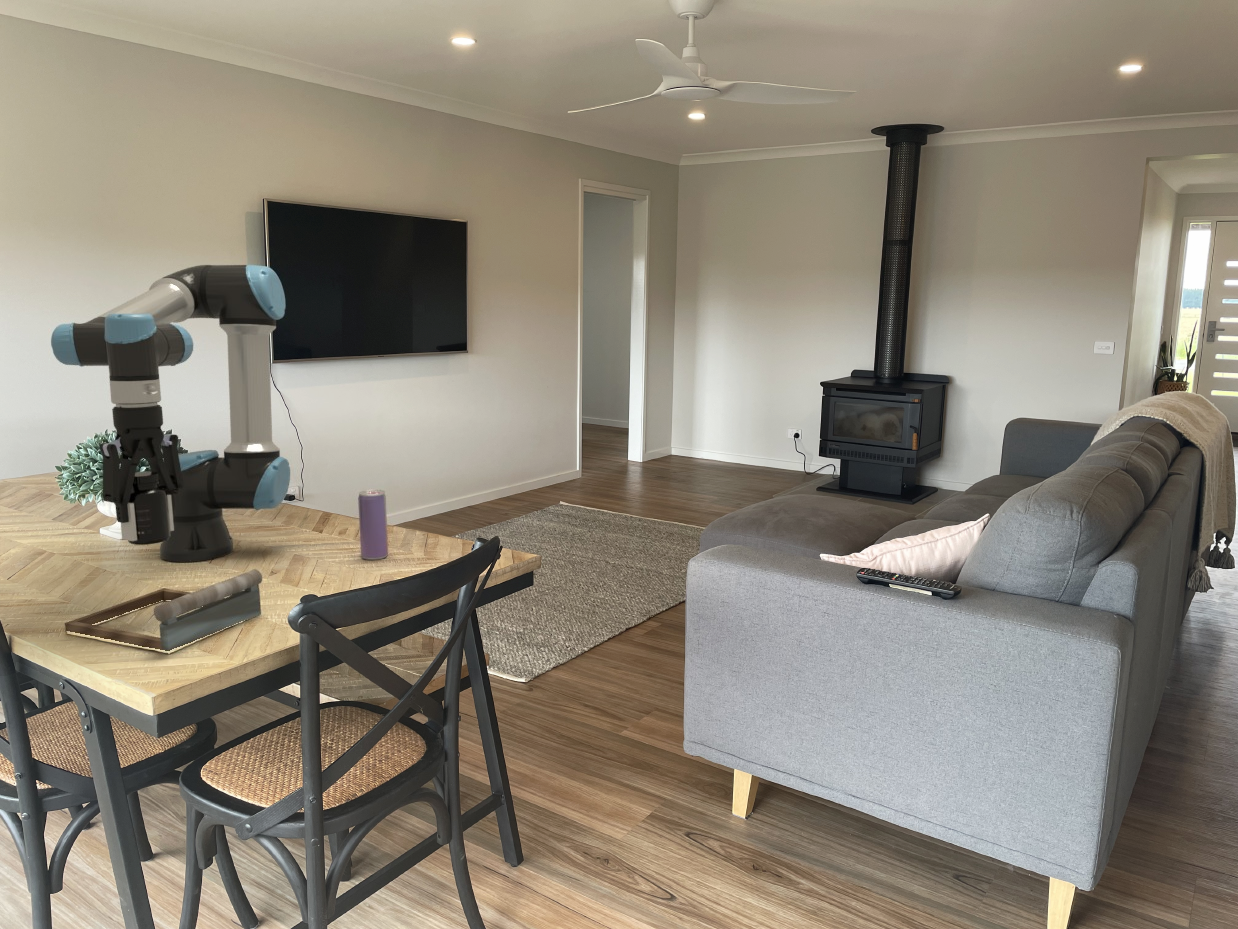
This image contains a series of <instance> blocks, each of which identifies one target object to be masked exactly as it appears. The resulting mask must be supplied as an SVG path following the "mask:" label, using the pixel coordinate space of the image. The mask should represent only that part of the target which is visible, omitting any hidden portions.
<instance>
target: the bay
mask: <svg viewBox="0 0 1238 929" xmlns="http://www.w3.org/2000/svg"><path fill="white" fill-rule="evenodd" d="M262 582H263V575H262V573H261V571H260V570H258V569H252V570H249V571H247V572H245V573H244V572H243V573H242V574H239V575H236V576H233V577H230V578H228V579H225V580H222V581H220V582H217V583H215V584H212V585H209V586H206V587H203V588H201V589H198V590H196V591H195V590H194V591H192V592H190V591H183V590H178V589H173V588H172V589H171V588H166V587H164V588H160V589H158V590H155V591H152V592H149V593H146V594H143V595H141V596H138V597H135V598H133V599H129V600H126V601H123V602H120V603H118V604H115V605H112V606H109V607H107V608H104V609H101V610H98V611H95V612H92V613H90V614H87V615H84V616H81V617H78V618H75V619H72V620H70V621H67V622H65V623H64V627H65V632H66V631H70V632H75V633H80V634H85V635H90V636H95V637H100V638H104V639H111V640H115V641H119V642H124V643H129V644H134V645H138V646H142V647H149V648H155V649H160V650H165V651H170V650H172V649H174V648H177V647H180V646H183V645H185V644H188V643H191V642H193V641H195V640H197V639H200V638H203V637H205V636H207V635H210V634H213V633H215V632H217V631H220V630H222V629H224V628H226V627H229V626H232V625H234V624H236V623H239V622H241V621H244V620H247V619H249V620H251V619H253V618H252V617H254V618H256V617H258V616H260V615H262V609H261V595H260V594H261V593H260V587H259V588H258V586H257V585H258V584H259V585H260V584H261V583H262ZM243 590H244V591H243ZM240 591H242V592H240ZM237 592H239V593H237ZM235 593H237V594H235ZM232 594H234V595H232ZM161 600H171V601H165V602H163V603H161V604H158V605H156V606H155V607H154V608H153V614H154V615H153V616H154V618H155V619H156V620H157V621H158V622H160V623H159V624H158V626H159V636H160V637H159V636H153V635H148V634H142V633H137V632H133V631H127V630H121V629H118V628H117V629H116V628H112V627H106V626H102V625H101V626H100V625H97V626H96V625H92V624H95V623H98V622H101V621H104V620H108V619H110V618H113V617H115V616H119V615H122V614H124V613H126V612H130V611H132V610H135V609H138V608H141V607H144V606H147V605H149V604H153V603H156V602H159V601H161ZM159 603H160V602H159ZM202 606H203V607H202ZM255 616H256V617H255ZM250 618H251V619H250ZM247 621H248V620H247Z"/></svg>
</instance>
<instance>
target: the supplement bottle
mask: <svg viewBox="0 0 1238 929" xmlns="http://www.w3.org/2000/svg"><path fill="white" fill-rule="evenodd" d="M159 483H160V480H159V475H158V472H152V471H138V472H137V471H136V473H135V477H134V482H133V486H132V491H131V495H130V500H129V503H134V510H135V521H136V532H137V540H136V541H128V540H127V542H128V543H129V544H130V545H131V544H132V545H135V546H147V545H148V546H149V545H156V544H159V543H160V544H161V543H162V542H163V541H166V540H168V539H169V538H170V536H171V533H170V522H169V511H168V501H167V493H166V491H165V489H163V488H162V487H160V486H158V484H159Z"/></svg>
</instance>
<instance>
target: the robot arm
mask: <svg viewBox="0 0 1238 929" xmlns="http://www.w3.org/2000/svg"><path fill="white" fill-rule="evenodd" d="M285 310H286V297H285V291H284V288H283V285H282V281H281V280H280V278H279V276H278V275H277V273H276V272H275V271H274V270H273V268H271V267H270V266H265V265H258V264H257V265H255V264H223V265H222V264H218V265H217V264H200V265H194V266H191V267H186V268H184V269H181V270H178V271H175V272H173V273H170V274H167V275H166V276H163V277H161V278H159V279H157V280H155V281H154V282H152V284H151V285H150V286H149V288H148V290H147V291H145V292H143V293H141V294H139V295H137V296H135V297H133V298H132V299H130V300H129V299H128V300H127V301H125V302H124V303H121V304H120V305H118V306H116V307H114V308H111V309H110V310H108V311H106V312H104V313H102V314H101V315H97V316H96V317H94V318H92V319H91V320H87V321H86V322H83V323H77V322H71V323H61V324H59V325H57V326H56V327H55V328H54V330H53V332H52V334H51V338H50V345H51V349H52V353H53V355H54V357H55V359H56V360H57V361H58V362H59V363H62V364H64V365H67V366H79V367H101V366H103V367H105V366H106V367H108V373H109V378H108V379H109V390H110V391H109V392H110V402H111V404H113V405H115V406H113V407H112V409H111V410H112V419H113V420H112V422H113V427H114V429H115V430H116V435H115V438H114V440H112V441H110V442H108V443H105V442H104V443H103V442H102V443H101V444H100V445H99V450H100V453H101V456H102V500H103V502H108V503H112V504H114V505H115V506H114V507H115V513H116V514H115V515H116V520H117V522H118V523H120V529H121V540H123V541H127V542H128V541H136V540H137V532H136V521H135V510H134V503H129V500H130V495H131V491H132V486H133V482H134V477H135V473H137V467H138V466H139V465H140V463H141V460H142V459H144V460H145V461H146V462H147V464H148V465H149V468H150V470H151V472H158V475H159V480H160V483H159V484H158V486H160V487H162V488H163V489H165V491H166V493H167V501H168V511H169V522H170V533H171V536H170V538H169V539H168V540H166V541H163V542H160V546H159V553H160V554H159V555H160V558H161V559H162V560H164V561H167V562H168V561H169V562H174V563H175V562H176V563H187V562H188V563H189V562H190V563H191V562H201V561H208V560H212V559H213V560H214V559H217V558H221V557H224V556H227V555H229V554H231V553H232V552H233V551H234V549H235V548H234V539H233V538H232V536H231V534H230V531H229V529H228V526H227V524H226V522H225V519H224V515H223V510H256V511H259V510H266V509H267V510H268V509H269V510H270V509H275V508H277V507H279V506H280V505H281V504H282V503H283V501H284V499H285V498H286V496H287V493H288V490H289V487H290V483H291V482H290V481H291V467H290V463H289V461H288V459H287V458H285V457H283V456H281V450H280V448H279V447H278V446H277V445H276V444H275V443H274V442H273V423H272V387H271V384H272V383H271V360H270V359H271V358H270V356H271V354H270V351H271V350H270V335H271V333H273V331H275V330H276V329H277V320H280V319H283V317H284V316H285V313H286V311H285ZM188 319H218V320H219V321H218V324H219V326H218V327H219V328H220V329H221V330H223V332H225V334H226V336H227V339H226V340H227V362H228V365H227V366H228V368H227V369H228V390H229V391H228V392H229V420H230V422H229V423H230V443H229V444H228V445H227V446H226V447H225V448H224V449H223V457H220V454H219V452H218V451H217V450H216V449H214V450H213V449H205V450H197V451H192V452H191V451H190V452H187V453H181V454H179V452H178V442H179V436H178V434H173V433H164V432H163V430H162V426H163V425H164V416H163V407H162V406H161V405H160V404H158V403H160V402H161V401H162V395H161V384H160V382H161V381H160V372H159V370H160V368H159V367H168V366H170V367H176V365H180V364H182V363H185V362H186V361H188V360H189V358H191V356H192V354H193V352H194V340H193V338H192V335H191V333H190V332H189V331H188V330H187V329H186V328H184V327H183V326H181V325H178V324H177V323H182V322H185V321H187V320H188ZM172 323H174V324H172ZM175 323H176V324H175Z"/></svg>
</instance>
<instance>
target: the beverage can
mask: <svg viewBox="0 0 1238 929" xmlns="http://www.w3.org/2000/svg"><path fill="white" fill-rule="evenodd" d="M385 493H386V492H385V490H382V489H367V490H362V491H359V492H358V498H357V501H358V503H357V504H358V521H359V542H360V543H359V544H360V556H361V558H362V559H363V560H367V561H378V560H383V559H385V558H387V556H388V555H389V544H388V543H389V541H388V540H389V539H388V519H387V518H388V516H387V513H388V512H387V497H386V496H387V495H386V494H385Z"/></svg>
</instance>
